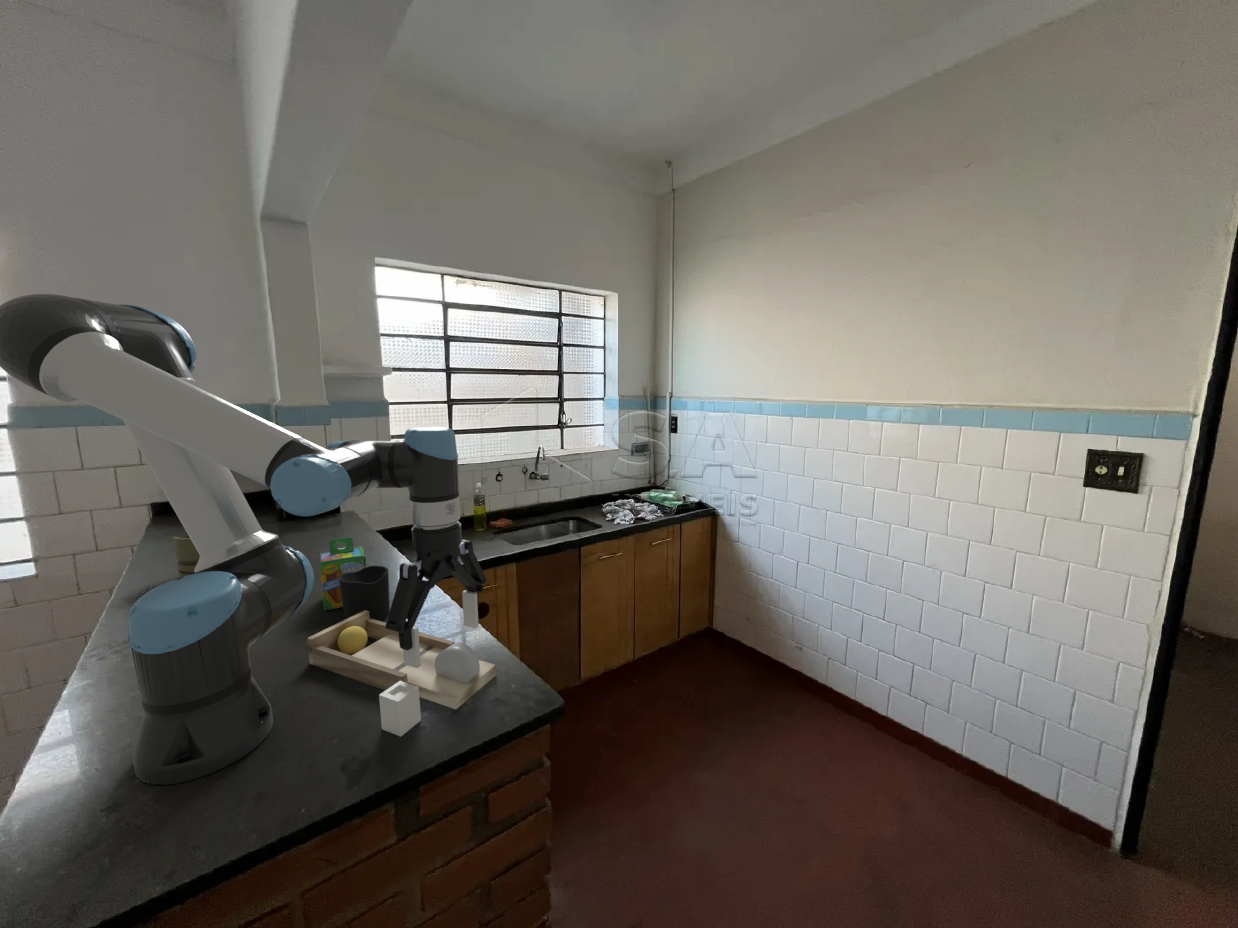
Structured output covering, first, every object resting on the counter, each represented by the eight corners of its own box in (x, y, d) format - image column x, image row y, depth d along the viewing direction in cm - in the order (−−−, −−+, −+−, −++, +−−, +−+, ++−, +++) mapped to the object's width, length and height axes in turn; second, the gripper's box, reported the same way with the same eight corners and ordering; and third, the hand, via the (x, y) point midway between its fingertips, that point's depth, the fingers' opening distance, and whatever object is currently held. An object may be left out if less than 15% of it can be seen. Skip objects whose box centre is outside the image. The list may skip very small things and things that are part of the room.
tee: (400, 736, 71) (397, 701, 70) (381, 729, 73) (378, 694, 72) (420, 720, 75) (418, 686, 74) (402, 713, 76) (399, 680, 75)
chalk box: (324, 612, 109) (317, 548, 107) (323, 597, 117) (317, 537, 115) (370, 602, 114) (364, 541, 112) (366, 588, 122) (361, 531, 119)
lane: (451, 713, 76) (449, 684, 76) (309, 663, 90) (306, 638, 89) (499, 672, 87) (498, 646, 86) (366, 633, 100) (364, 610, 100)
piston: (163, 540, 121) (186, 527, 131) (170, 587, 123) (193, 570, 133) (218, 536, 124) (237, 524, 135) (224, 581, 126) (242, 565, 137)
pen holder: (384, 625, 103) (380, 581, 102) (336, 629, 102) (331, 583, 100) (396, 605, 113) (393, 564, 111) (352, 608, 111) (348, 566, 109)
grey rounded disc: (468, 695, 81) (466, 656, 79) (435, 685, 83) (433, 646, 82) (480, 685, 83) (478, 647, 82) (448, 675, 86) (446, 638, 85)
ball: (330, 652, 92) (349, 663, 91) (331, 629, 91) (350, 640, 89) (354, 639, 97) (372, 650, 95) (355, 617, 96) (374, 627, 94)
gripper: (389, 550, 67) (400, 691, 70) (503, 507, 89) (507, 616, 93) (351, 542, 70) (364, 678, 73) (470, 503, 92) (475, 608, 96)
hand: (444, 644), depth 83 cm, fingers open, 13 cm apart
